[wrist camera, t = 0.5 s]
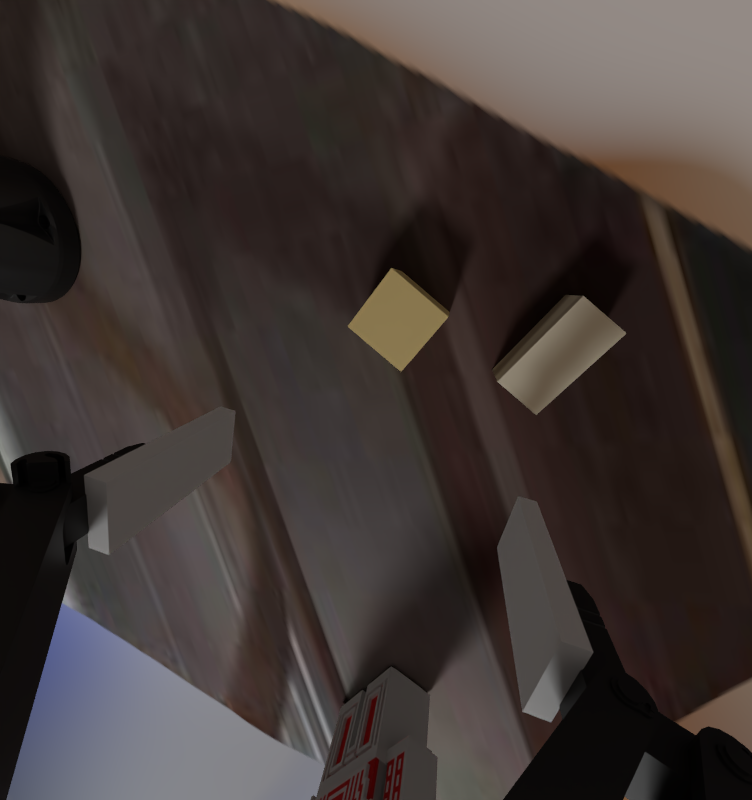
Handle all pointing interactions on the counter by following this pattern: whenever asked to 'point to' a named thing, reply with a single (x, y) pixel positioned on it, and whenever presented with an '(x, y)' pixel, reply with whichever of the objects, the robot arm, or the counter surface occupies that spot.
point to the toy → (381, 745)
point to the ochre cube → (398, 318)
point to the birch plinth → (556, 351)
